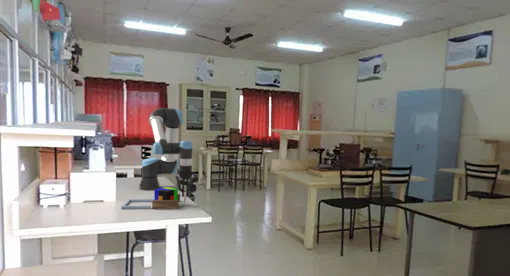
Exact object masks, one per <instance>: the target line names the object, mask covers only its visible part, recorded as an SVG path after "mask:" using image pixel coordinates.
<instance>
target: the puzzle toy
mask: <svg viewBox="0 0 510 276" xmlns="http://www.w3.org/2000/svg"><path fill="white" fill-rule="evenodd" d="M178 192H179V188H173V187H160V188H159V189H155V190H154V197H153V199H154V200H178V194H179V193H178Z"/></svg>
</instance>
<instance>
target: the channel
mask: <svg viewBox="0 0 510 276" xmlns="http://www.w3.org/2000/svg"><path fill="white" fill-rule="evenodd" d="M180 202H181V193H178V200H152V202H151V204H152V205H151V209H152V210H155V209H156V210H158V209H159V210H163V209H166V210H169V209H170V210H172V209H174V210H175V209H177V210H178V208H179V203H180Z"/></svg>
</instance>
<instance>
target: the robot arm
mask: <svg viewBox="0 0 510 276" xmlns="http://www.w3.org/2000/svg"><path fill="white" fill-rule="evenodd" d="M148 122H149V125H150V126H151V129H152V133H153V138H154V143H153V146H152V150H153V154H154V155H159V156H160V155H162V156H161V157H160V159H159V158H158V157H150V158H145V159H143V160H142V162H141V179H140V181H139V182H140V183H139V184H138V185H139V186H138V190H142V191H155V189H160V188H161V185H160V182H159V178H158V175H175V174H176V173H177V172H178V169H179V173H178V174H177V175H175V176H174V177H175V179H176V182H177V186H178V187H177V188H178V192H181V197H182V198H183V203H187V198H188V197H189V192H190V191H192V188H193V185H194V182H195V179H196V177H197V176H196V175H194V174H193V172H192V171H193V166H192V164H193V148H194V147H193V141H192V140H181V141H179V142H177V140H178V139H177V138H178V137H177V136H178V129H180V127H181V125H183V124H184V116H183V112H182V110H181V109H178V108H163V107H159V108H155V110H152V112H151V113H150V115H149V117H148ZM176 155H179V161H178V159H177V157H176ZM178 167H179V168H178ZM180 179H181V180H182V183H181V182H180ZM190 179H191V182H190ZM185 181H186V182H185ZM189 182H190V186H189ZM185 183H186V187H185ZM181 184H182V185H181ZM185 189H186V190H185Z"/></svg>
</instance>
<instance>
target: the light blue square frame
mask: <svg viewBox="0 0 510 276" xmlns="http://www.w3.org/2000/svg"><path fill="white" fill-rule="evenodd" d="M152 200H154V198H151V199H150V198H148V199H147V198H145V199H144V198H139V199H138V198H127V200H126V201H125V202H124V204H122V205H121V210H147V209H152V205H129V204H130V203H152Z"/></svg>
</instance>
